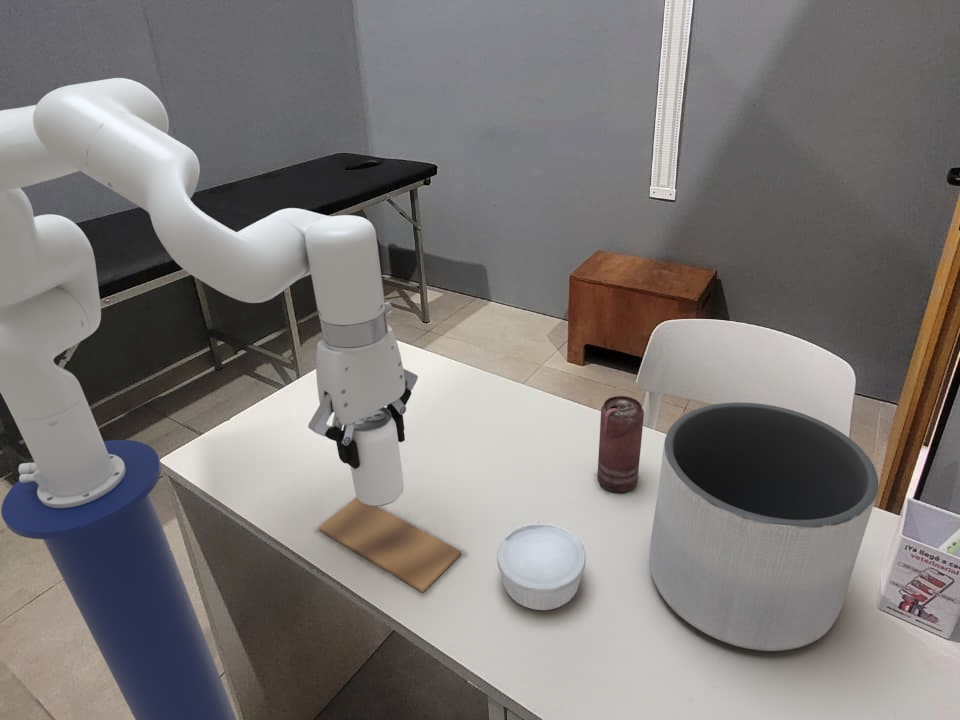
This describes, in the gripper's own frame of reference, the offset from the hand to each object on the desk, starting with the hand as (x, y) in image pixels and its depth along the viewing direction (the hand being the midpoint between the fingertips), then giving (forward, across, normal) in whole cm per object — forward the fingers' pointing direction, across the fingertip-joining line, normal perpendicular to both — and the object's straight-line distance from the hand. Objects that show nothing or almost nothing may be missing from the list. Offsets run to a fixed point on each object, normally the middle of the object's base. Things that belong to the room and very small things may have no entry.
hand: (373, 449), depth 83 cm
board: (+16, 0, 0) cm, 16 cm away
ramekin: (+16, -9, +20) cm, 28 cm away
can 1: (+7, 0, 0) cm, 7 cm away
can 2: (+16, -32, +16) cm, 40 cm away
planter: (+16, -26, +39) cm, 50 cm away
